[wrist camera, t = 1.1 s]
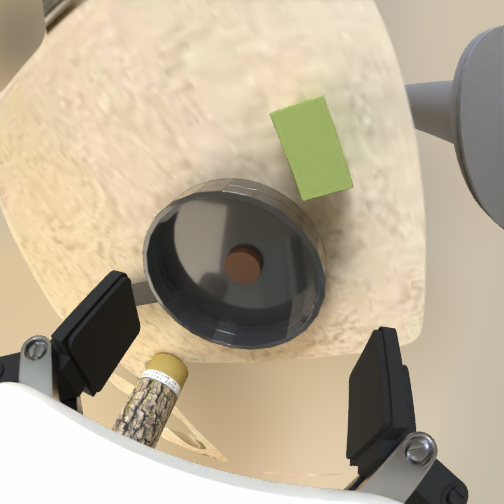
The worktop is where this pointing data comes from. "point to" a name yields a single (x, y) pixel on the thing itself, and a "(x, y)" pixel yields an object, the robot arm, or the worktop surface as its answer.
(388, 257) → the worktop surface
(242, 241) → the pan
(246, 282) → the brown disc
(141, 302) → the pan handle
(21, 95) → the worktop surface
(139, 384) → the paper tube
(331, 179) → the sponge
